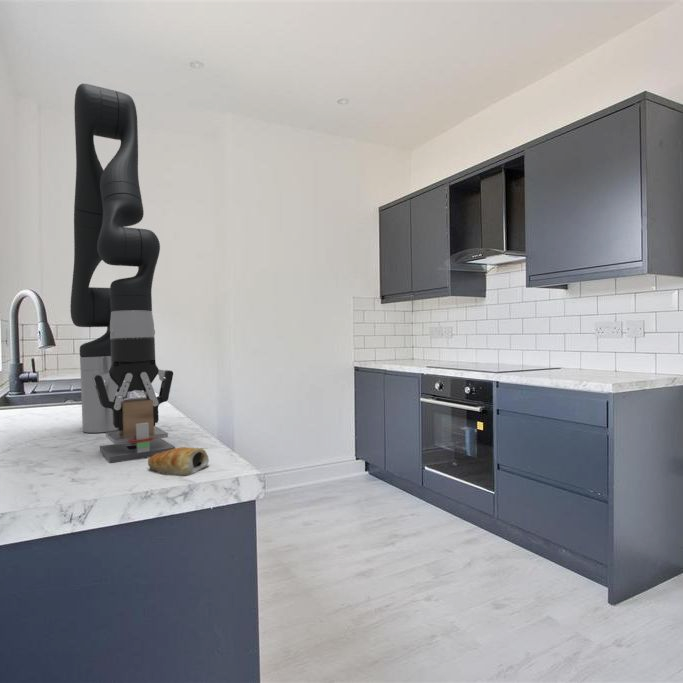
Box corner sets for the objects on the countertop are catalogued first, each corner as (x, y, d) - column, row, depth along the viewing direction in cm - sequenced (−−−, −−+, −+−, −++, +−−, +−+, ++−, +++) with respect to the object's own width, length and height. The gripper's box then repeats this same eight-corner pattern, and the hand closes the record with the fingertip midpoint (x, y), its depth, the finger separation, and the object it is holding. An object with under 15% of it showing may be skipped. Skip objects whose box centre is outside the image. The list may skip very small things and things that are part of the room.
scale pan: (106, 442, 92) (105, 432, 92) (155, 435, 97) (155, 426, 97) (116, 453, 83) (116, 442, 83) (170, 445, 88) (170, 434, 88)
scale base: (99, 451, 92) (98, 419, 92) (160, 442, 98) (159, 412, 98) (109, 463, 83) (108, 427, 83) (175, 452, 89) (174, 419, 89)
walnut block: (119, 432, 91) (118, 400, 91) (147, 429, 94) (146, 397, 94) (124, 436, 87) (123, 403, 87) (154, 432, 90) (152, 400, 90)
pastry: (137, 474, 77) (136, 450, 77) (165, 463, 83) (165, 441, 83) (188, 478, 74) (187, 452, 74) (213, 466, 80) (212, 443, 80)
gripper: (167, 335, 98) (170, 420, 98) (86, 337, 89) (90, 430, 90) (177, 334, 91) (181, 425, 92) (92, 336, 83) (96, 436, 83)
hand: (136, 427), depth 91 cm, fingers closed on walnut block, 5 cm apart
